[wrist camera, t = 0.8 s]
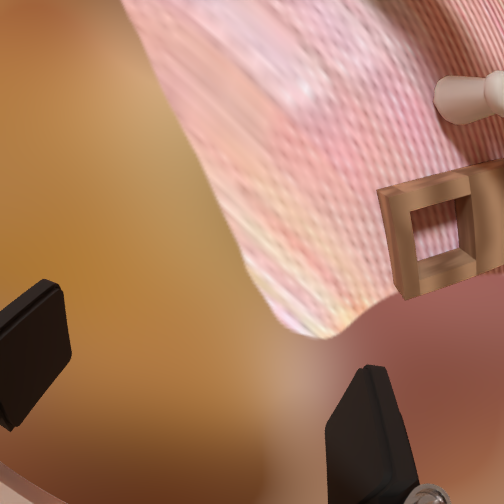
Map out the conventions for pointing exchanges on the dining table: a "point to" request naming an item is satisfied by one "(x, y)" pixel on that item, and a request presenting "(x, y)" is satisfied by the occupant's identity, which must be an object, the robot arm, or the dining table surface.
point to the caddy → (468, 221)
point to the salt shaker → (470, 97)
